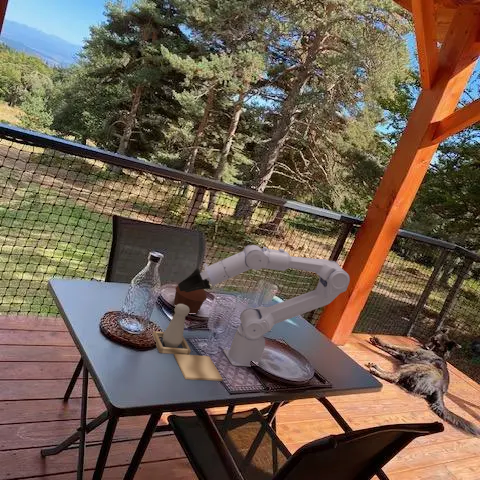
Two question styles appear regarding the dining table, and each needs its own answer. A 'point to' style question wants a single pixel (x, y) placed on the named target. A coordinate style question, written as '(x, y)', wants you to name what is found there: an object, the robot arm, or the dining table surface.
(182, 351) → the birch collar
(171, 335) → the beige bowling pin
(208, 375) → the cork mat
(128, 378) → the dining table surface
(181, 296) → the muffin
